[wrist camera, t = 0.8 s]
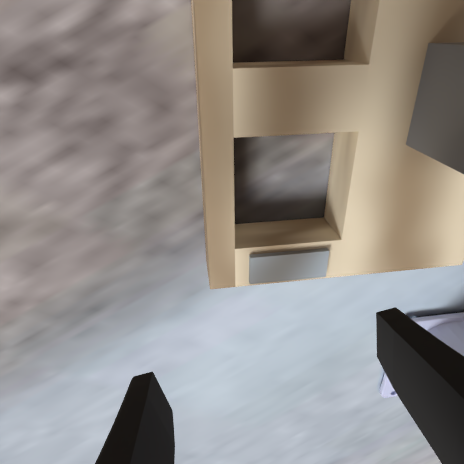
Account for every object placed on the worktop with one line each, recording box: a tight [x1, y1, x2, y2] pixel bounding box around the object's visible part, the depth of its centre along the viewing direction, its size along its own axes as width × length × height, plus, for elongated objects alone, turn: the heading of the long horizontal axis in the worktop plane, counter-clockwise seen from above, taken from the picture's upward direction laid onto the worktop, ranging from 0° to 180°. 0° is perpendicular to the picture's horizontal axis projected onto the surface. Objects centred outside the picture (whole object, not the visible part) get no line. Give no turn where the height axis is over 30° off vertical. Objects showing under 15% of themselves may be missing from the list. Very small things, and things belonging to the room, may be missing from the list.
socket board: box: [191, 0, 464, 289], centre depth 16 cm, size 14×18×3 cm
